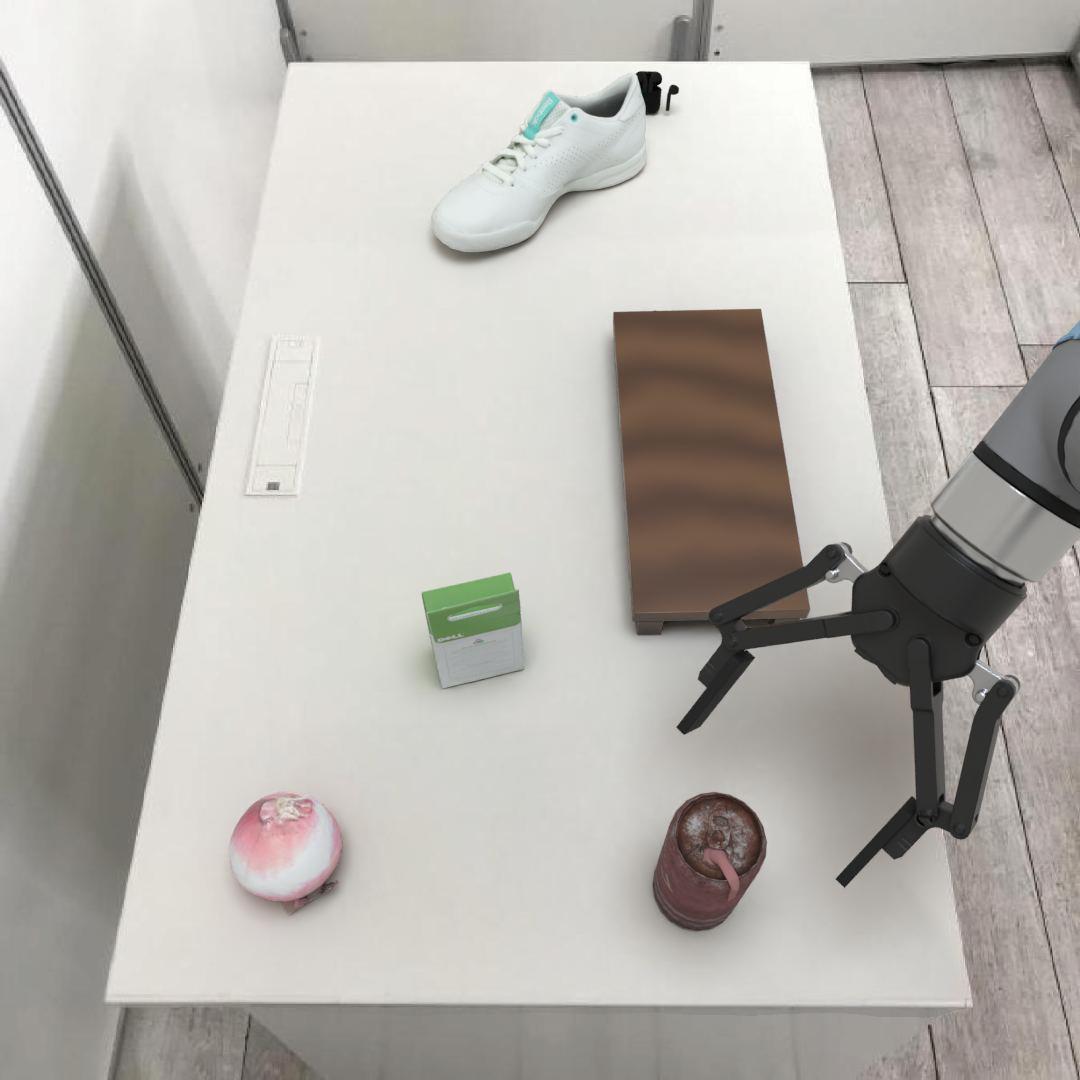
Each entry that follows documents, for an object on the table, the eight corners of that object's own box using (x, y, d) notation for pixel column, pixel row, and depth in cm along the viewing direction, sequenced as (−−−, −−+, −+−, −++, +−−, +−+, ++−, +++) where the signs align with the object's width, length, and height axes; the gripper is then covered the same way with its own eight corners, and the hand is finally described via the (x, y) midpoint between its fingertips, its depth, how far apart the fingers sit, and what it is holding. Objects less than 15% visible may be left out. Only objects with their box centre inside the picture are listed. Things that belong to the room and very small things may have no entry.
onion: (361, 818, 80) (344, 788, 74) (334, 923, 76) (314, 901, 70) (259, 801, 81) (234, 770, 75) (227, 905, 77) (198, 881, 71)
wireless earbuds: (614, 115, 121) (616, 76, 117) (615, 101, 123) (617, 61, 118) (676, 116, 121) (680, 77, 117) (676, 102, 122) (680, 63, 118)
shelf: (800, 632, 88) (810, 610, 84) (630, 635, 88) (633, 613, 84) (754, 336, 104) (761, 308, 101) (611, 339, 104) (613, 311, 101)
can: (678, 950, 75) (701, 908, 63) (637, 867, 78) (652, 811, 66) (753, 913, 76) (790, 865, 64) (710, 833, 79) (738, 772, 67)
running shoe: (410, 227, 113) (395, 134, 102) (602, 122, 121) (606, 26, 111) (466, 281, 109) (457, 189, 98) (661, 168, 117) (671, 73, 107)
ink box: (514, 627, 88) (508, 545, 77) (526, 670, 86) (521, 592, 75) (432, 646, 88) (413, 566, 76) (441, 690, 86) (423, 614, 74)
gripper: (1174, 682, 60) (932, 924, 68) (829, 425, 70) (652, 662, 78) (1170, 707, 54) (904, 970, 62) (792, 420, 64) (603, 679, 71)
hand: (763, 799), depth 70 cm, fingers open, 13 cm apart
